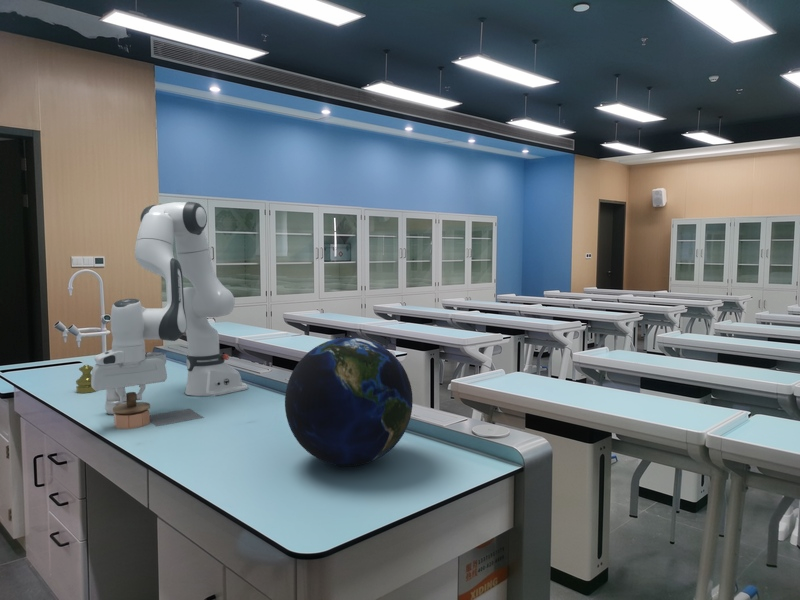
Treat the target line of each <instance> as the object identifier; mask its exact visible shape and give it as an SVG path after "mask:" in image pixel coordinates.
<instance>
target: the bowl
mask: <svg viewBox="0 0 800 600" xmlns="http://www.w3.org/2000/svg"><path fill="white" fill-rule="evenodd" d="M150 415H151V414H150V408H149V409H147V410H145V411H141V412H136V413H127V414H119V413H114V415H113V424H114V425H113V426H114V427H115V428H116V429H118V430H119V429H120V430H121V429H122V430H129V429H130V430H131V429H136V428H141V427H144V426H146V425H149V424H150V423H151V422H150Z"/></svg>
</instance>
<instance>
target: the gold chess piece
mask: <svg viewBox="0 0 800 600" xmlns="http://www.w3.org/2000/svg"><path fill="white" fill-rule="evenodd" d="M93 367H94V366H92V365H89V364H84V365H82V366H80V367H79V368H78V370H79V371H80V372H81V373H82V375H81V376H79V378H77V379H76V380H75V384H76V393H78V394H90V393H94V392H97V391H96V390H94V389H93V388H92V386H91V376H92V369H93Z"/></svg>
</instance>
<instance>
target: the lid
mask: <svg viewBox="0 0 800 600" xmlns="http://www.w3.org/2000/svg"><path fill="white" fill-rule="evenodd" d="M136 394H137V393H136V392H135V391H130V392H126V396H127V399H126V400H127V403H125V404H121V405H117V406H115V407H113V412H114V413H119V414H127V413H136V412H141V411H145V410H147V409H149V410H150V409H151V404H150V402H144V401H137V400H136Z"/></svg>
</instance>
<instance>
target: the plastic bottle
mask: <svg viewBox="0 0 800 600" xmlns="http://www.w3.org/2000/svg"><path fill="white" fill-rule="evenodd" d="M120 392H121V394H122V395H126V393H127V392H126V387H122V391H120ZM125 403H127V402H123V403H121V402H120V396H119V395H118V393H117V392H116V390H115V389H107V390H106V396H105V405H104V409H105V412H106V413H107V415H110V416H114V412H113V407H115V406H117V405H121V404H125Z"/></svg>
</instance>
